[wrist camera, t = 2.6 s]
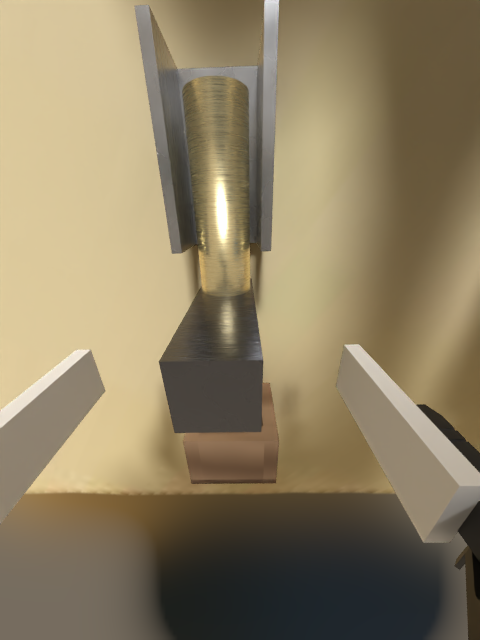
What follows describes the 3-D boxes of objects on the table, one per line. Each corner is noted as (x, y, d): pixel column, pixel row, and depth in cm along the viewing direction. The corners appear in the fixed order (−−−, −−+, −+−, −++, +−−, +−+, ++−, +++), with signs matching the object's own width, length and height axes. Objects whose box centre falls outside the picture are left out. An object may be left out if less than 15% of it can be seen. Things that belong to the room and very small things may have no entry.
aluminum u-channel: (172, 78, 14) (134, 5, 9) (266, 74, 14) (279, -2, 9) (190, 243, 18) (172, 253, 14) (263, 241, 18) (270, 251, 13)
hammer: (190, 116, 15) (44, -160, 4) (250, 113, 15) (274, -176, 4) (214, 379, 24) (192, 513, 13) (251, 378, 24) (259, 513, 13)
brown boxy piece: (198, 383, 25) (183, 441, 19) (269, 382, 25) (278, 440, 18) (203, 421, 28) (191, 483, 21) (268, 421, 27) (275, 483, 21)
